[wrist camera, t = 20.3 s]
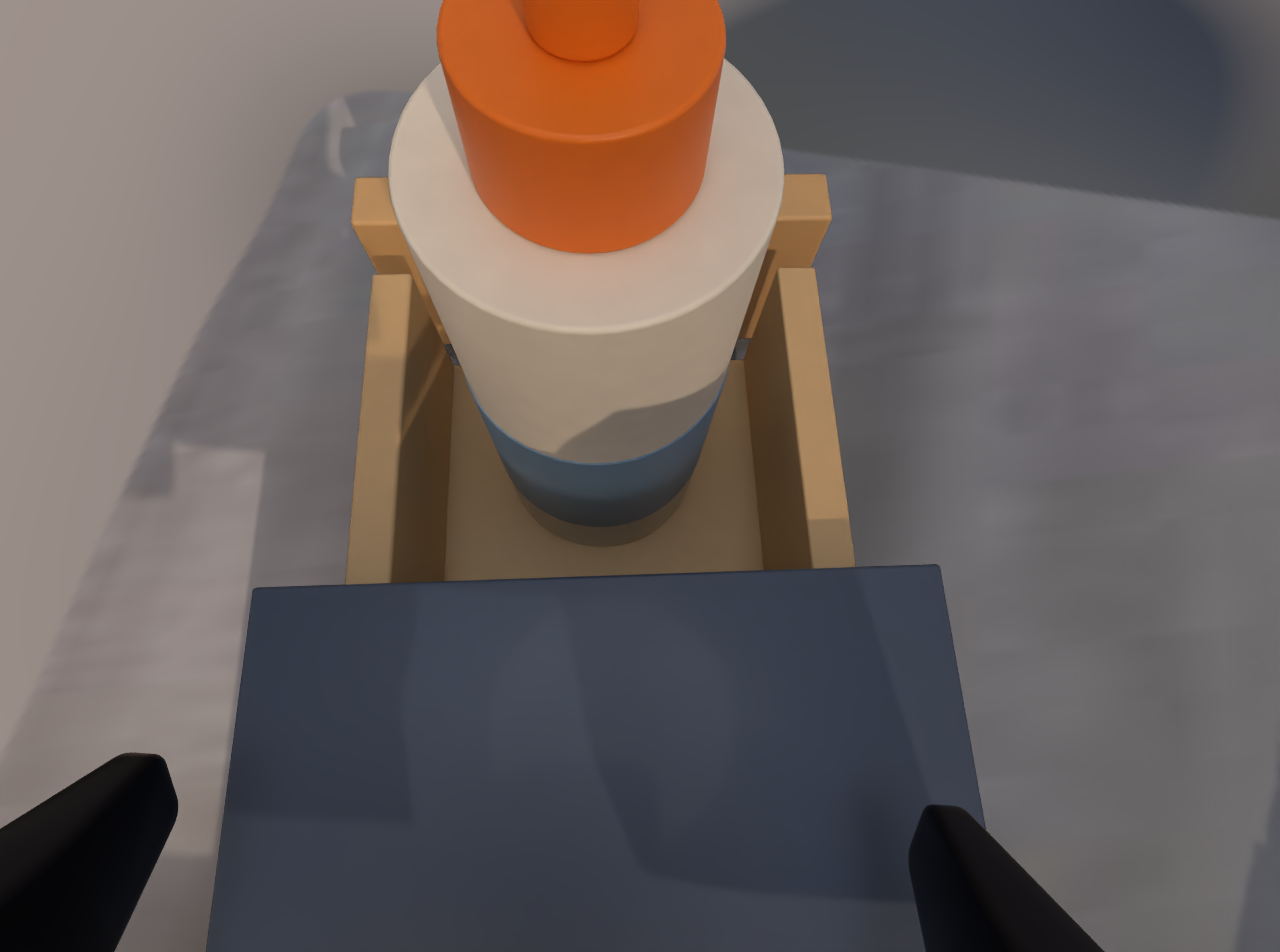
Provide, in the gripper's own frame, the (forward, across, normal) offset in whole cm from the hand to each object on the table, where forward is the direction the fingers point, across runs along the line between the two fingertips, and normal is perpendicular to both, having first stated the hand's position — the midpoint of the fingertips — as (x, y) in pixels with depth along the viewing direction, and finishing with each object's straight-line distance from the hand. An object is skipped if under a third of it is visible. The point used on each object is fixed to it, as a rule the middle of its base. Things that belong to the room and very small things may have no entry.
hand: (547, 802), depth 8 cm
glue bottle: (+10, 0, 0) cm, 10 cm away
